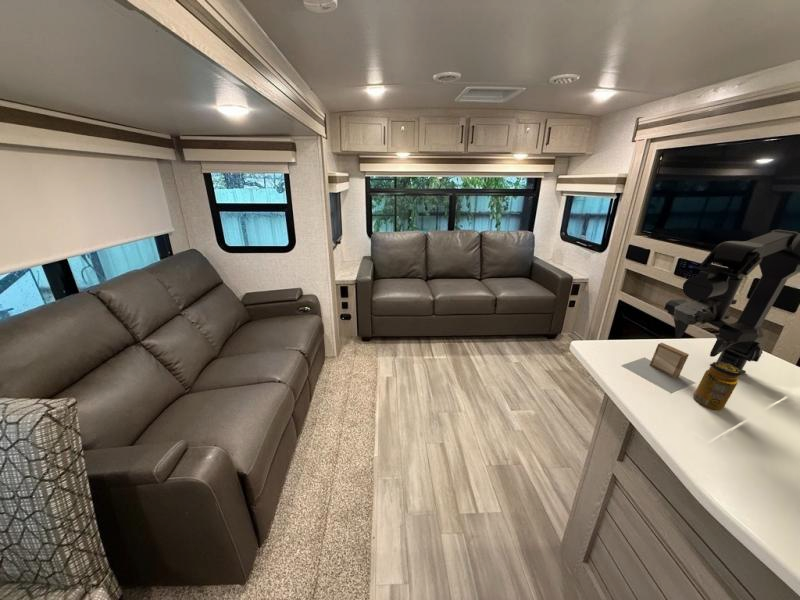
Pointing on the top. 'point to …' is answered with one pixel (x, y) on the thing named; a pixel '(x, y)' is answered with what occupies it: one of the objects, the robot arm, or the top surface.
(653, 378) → the mat
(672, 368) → the wooden block
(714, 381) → the condiment
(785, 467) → the top surface
